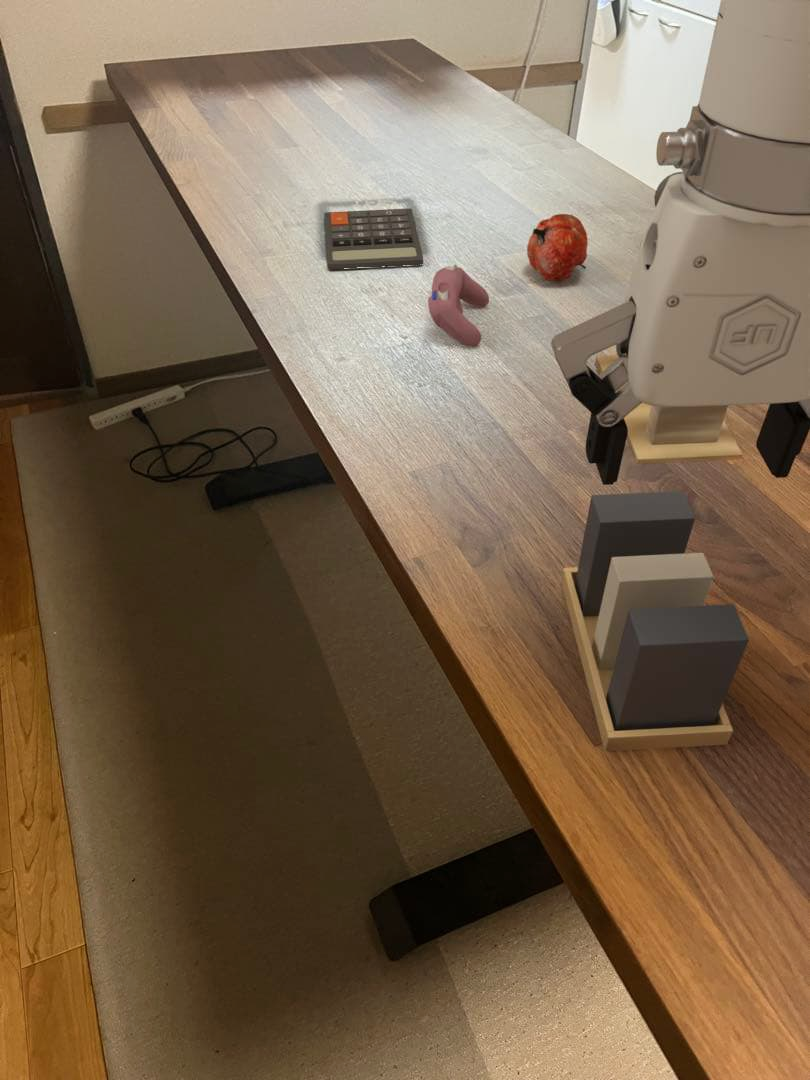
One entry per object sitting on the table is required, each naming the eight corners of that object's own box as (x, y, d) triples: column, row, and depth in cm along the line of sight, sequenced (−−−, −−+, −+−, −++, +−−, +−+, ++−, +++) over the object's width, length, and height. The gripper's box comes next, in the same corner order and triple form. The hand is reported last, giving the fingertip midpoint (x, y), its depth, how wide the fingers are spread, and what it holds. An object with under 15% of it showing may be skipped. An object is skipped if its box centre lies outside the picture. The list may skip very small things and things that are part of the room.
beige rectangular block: (683, 665, 60) (714, 576, 54) (598, 670, 60) (619, 581, 54) (674, 641, 62) (703, 552, 55) (591, 645, 62) (611, 556, 55)
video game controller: (456, 314, 99) (430, 260, 95) (493, 300, 97) (467, 245, 94) (444, 360, 92) (415, 304, 88) (483, 346, 90) (455, 289, 87)
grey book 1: (666, 612, 64) (695, 517, 57) (581, 617, 63) (600, 522, 57) (656, 585, 66) (683, 490, 59) (573, 589, 65) (591, 494, 59)
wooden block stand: (740, 463, 77) (772, 367, 70) (636, 467, 77) (657, 371, 70) (684, 360, 89) (707, 269, 82) (594, 363, 89) (609, 273, 82)
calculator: (411, 206, 115) (423, 258, 104) (411, 213, 115) (423, 265, 105) (323, 211, 114) (326, 263, 103) (324, 217, 115) (327, 270, 104)
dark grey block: (710, 732, 56) (750, 639, 50) (614, 738, 56) (640, 645, 49) (698, 697, 58) (733, 603, 52) (604, 702, 58) (628, 608, 51)
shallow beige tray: (725, 748, 56) (733, 730, 55) (603, 755, 56) (608, 737, 54) (662, 580, 67) (667, 562, 65) (560, 585, 66) (563, 567, 65)
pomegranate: (556, 273, 108) (500, 235, 102) (598, 227, 104) (542, 185, 98) (576, 308, 103) (518, 270, 97) (621, 261, 99) (564, 219, 94)
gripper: (597, 199, 34) (548, 517, 46) (1021, 188, 35) (864, 503, 47) (561, 131, 39) (525, 431, 51) (929, 122, 40) (809, 420, 52)
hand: (687, 465), depth 49 cm, fingers open, 9 cm apart
